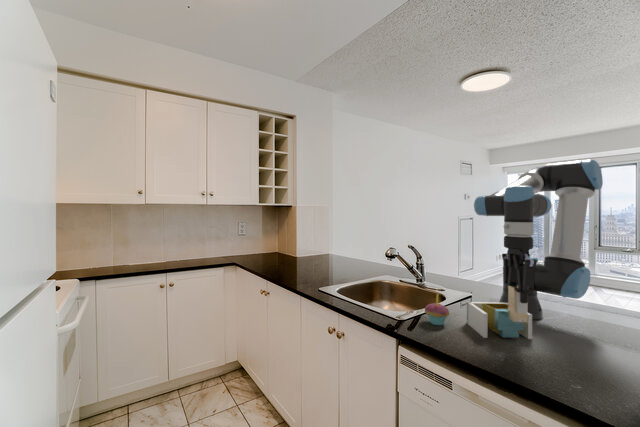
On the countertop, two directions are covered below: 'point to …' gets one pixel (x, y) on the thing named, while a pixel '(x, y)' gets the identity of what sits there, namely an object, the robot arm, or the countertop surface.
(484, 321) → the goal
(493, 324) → the flower pot
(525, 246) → the robot arm
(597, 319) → the countertop surface
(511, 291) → the rod
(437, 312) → the cupcake
